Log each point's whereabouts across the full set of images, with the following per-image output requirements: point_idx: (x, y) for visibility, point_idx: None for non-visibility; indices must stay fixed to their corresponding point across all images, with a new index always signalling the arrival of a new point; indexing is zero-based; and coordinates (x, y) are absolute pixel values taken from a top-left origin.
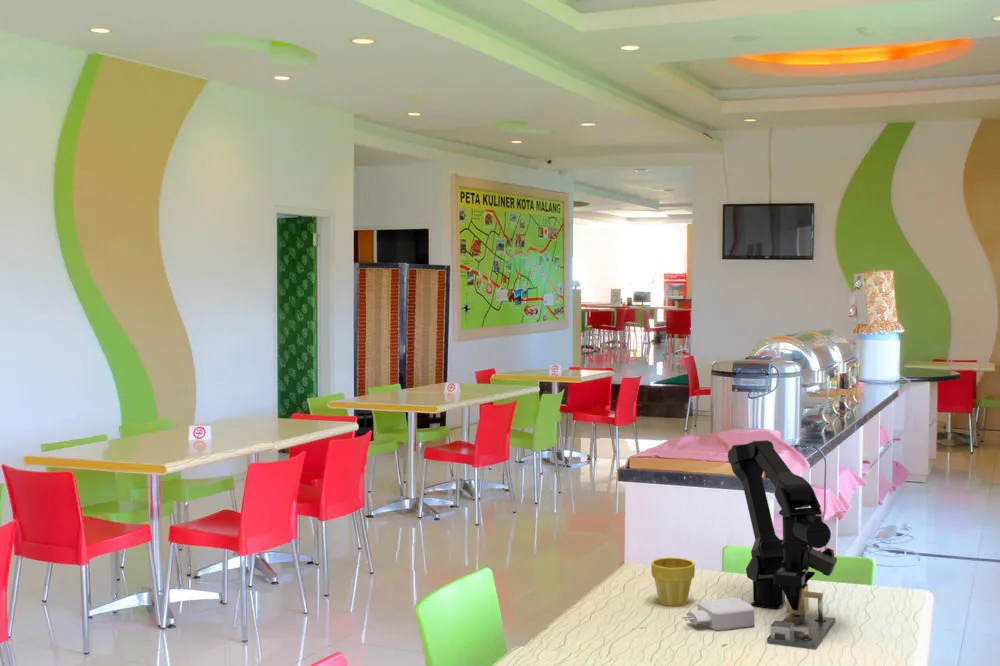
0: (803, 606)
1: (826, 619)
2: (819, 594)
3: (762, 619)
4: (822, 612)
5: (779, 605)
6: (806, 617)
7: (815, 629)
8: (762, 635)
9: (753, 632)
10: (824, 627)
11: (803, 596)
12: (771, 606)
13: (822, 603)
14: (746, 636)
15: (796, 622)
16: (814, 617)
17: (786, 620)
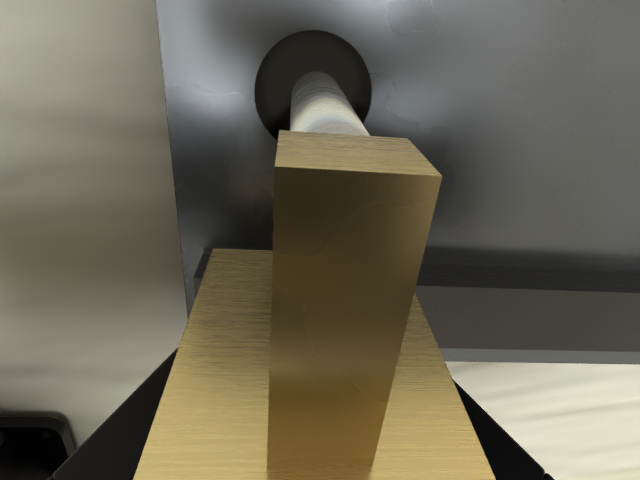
0: (419, 323)
1: (258, 34)
2: (419, 232)
3: None
4: (335, 85)
5: (17, 429)
6: (269, 232)
7: (634, 101)
8: (618, 386)
9: (563, 426)
10: (565, 15)
11: (467, 436)
12: (69, 455)
13: (334, 109)
14: (632, 436)
15: (517, 279)
16: (237, 168)
17: (527, 349)
